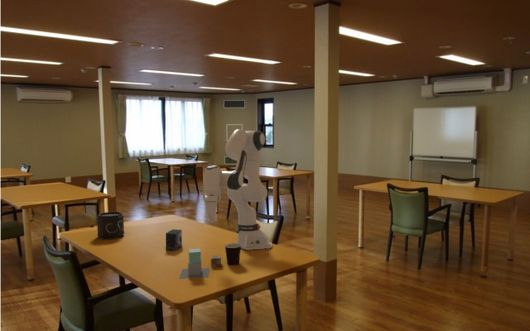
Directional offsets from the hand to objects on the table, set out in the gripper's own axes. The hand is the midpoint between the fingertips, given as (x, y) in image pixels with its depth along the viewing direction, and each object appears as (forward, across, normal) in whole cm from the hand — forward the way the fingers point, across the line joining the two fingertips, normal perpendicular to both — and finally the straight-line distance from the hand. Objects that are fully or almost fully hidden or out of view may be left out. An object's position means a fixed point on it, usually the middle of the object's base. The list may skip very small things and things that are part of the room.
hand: (212, 221), depth 213 cm
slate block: (+23, +14, -8) cm, 28 cm away
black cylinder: (+22, -65, -73) cm, 100 cm away
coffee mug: (+23, -2, +12) cm, 26 cm away
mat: (+24, +14, -8) cm, 28 cm away
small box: (+23, -33, -25) cm, 47 cm away
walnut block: (+23, +3, +2) cm, 23 cm away
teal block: (+17, +14, -8) cm, 23 cm away
